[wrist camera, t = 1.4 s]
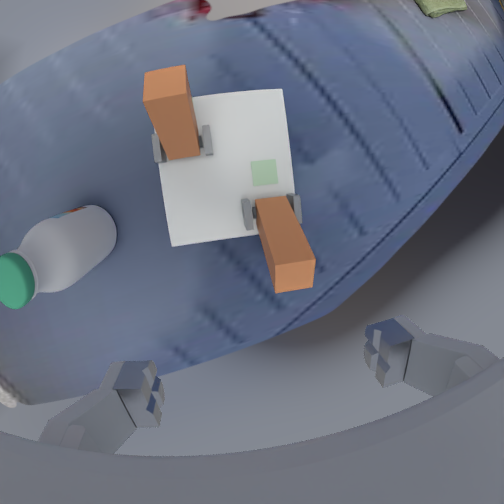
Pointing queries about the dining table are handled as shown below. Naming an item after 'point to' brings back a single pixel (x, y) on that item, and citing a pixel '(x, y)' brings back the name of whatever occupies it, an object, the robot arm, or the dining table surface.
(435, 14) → the washcloth
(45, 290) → the milk bottle
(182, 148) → the lever
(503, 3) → the apothecary jar
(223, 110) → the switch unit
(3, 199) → the dining table surface
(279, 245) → the lever
